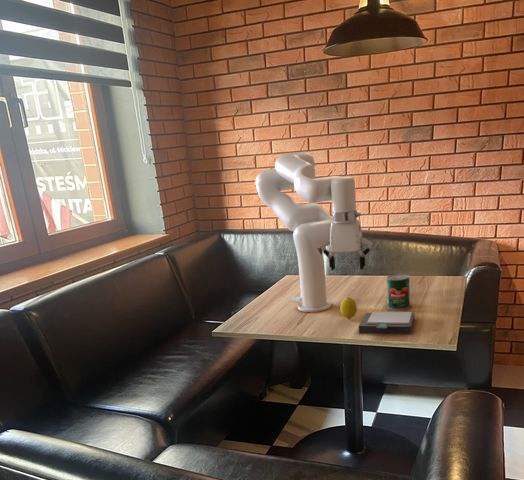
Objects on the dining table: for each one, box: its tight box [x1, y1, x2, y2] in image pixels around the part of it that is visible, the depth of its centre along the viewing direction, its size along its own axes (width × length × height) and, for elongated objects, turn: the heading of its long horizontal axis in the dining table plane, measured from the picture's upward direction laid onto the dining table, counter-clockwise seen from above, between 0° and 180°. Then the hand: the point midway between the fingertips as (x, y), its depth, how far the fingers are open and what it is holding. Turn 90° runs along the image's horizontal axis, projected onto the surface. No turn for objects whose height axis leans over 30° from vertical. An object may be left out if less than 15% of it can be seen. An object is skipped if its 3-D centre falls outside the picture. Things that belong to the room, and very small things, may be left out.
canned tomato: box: [386, 273, 411, 311], centre depth 191 cm, size 8×8×11 cm
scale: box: [358, 311, 416, 335], centre depth 173 cm, size 16×16×3 cm
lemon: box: [339, 296, 358, 320], centre depth 184 cm, size 6×6×8 cm
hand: (347, 268), depth 179 cm, fingers open, 9 cm apart
